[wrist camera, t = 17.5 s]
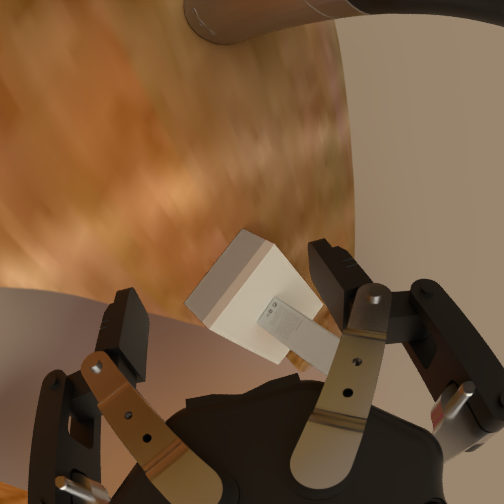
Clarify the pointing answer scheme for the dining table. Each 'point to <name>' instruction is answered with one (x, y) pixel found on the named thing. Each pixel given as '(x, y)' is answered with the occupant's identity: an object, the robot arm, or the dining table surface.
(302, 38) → the dining table surface
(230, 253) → the shelf bench
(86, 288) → the dining table surface
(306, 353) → the skincare box
